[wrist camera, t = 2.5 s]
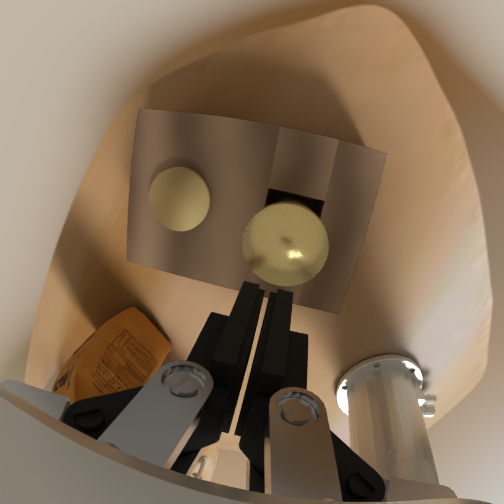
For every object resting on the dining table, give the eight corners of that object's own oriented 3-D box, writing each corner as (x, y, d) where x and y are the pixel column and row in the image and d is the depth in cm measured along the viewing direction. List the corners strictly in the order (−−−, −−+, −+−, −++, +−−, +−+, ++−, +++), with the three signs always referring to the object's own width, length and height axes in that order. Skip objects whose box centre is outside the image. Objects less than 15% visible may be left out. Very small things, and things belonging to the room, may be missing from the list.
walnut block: (367, 149, 28) (389, 153, 20) (333, 275, 33) (339, 318, 25) (176, 112, 30) (133, 108, 22) (161, 234, 35) (122, 263, 27)
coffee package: (90, 324, 43) (3, 415, 23) (139, 294, 39) (33, 409, 19) (129, 371, 45) (60, 471, 25) (182, 351, 41) (111, 479, 21)
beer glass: (184, 412, 46) (153, 482, 33) (196, 390, 44) (161, 467, 30) (222, 428, 46) (198, 500, 33) (237, 408, 44) (213, 488, 30)
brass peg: (329, 193, 24) (338, 216, 17) (314, 251, 26) (316, 294, 19) (266, 178, 25) (250, 195, 18) (255, 238, 27) (236, 275, 20)
